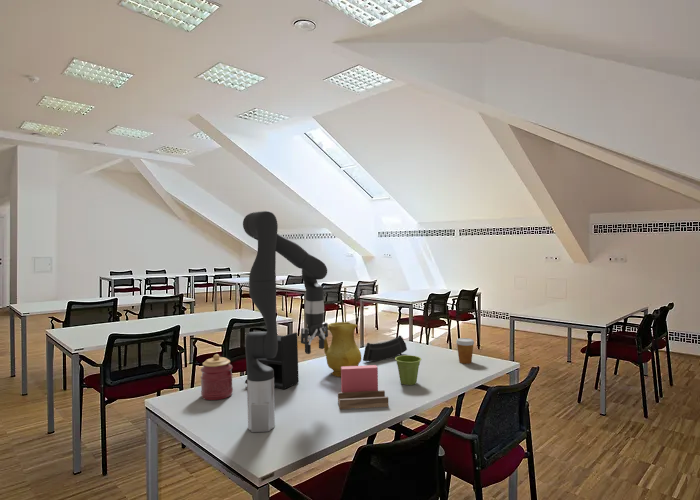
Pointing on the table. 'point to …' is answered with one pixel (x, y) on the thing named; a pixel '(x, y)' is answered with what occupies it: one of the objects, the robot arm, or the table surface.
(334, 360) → the pitcher
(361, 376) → the book
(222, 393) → the canister
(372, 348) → the magazine
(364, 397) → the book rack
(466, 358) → the disposable coffee cup
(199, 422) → the table surface
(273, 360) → the bookend
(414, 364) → the plant pot
